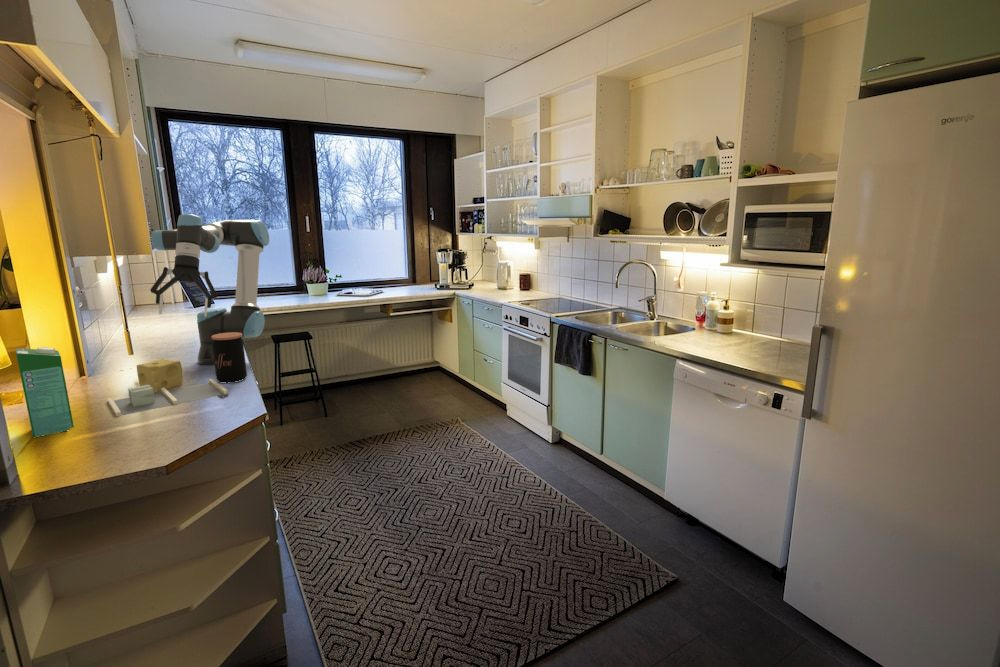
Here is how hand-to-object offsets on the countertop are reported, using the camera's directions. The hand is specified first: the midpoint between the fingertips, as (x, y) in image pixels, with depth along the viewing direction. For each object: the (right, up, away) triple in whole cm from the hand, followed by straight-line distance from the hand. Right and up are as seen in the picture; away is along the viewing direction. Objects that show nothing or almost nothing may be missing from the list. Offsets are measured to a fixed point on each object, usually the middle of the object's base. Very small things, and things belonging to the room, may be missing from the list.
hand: (183, 315), depth 180 cm
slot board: (-2, -30, -4) cm, 30 cm away
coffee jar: (+7, -25, +20) cm, 32 cm away
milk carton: (-20, -35, -30) cm, 50 cm away
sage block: (-8, -30, -9) cm, 32 cm away
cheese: (-14, -27, +9) cm, 32 cm away
